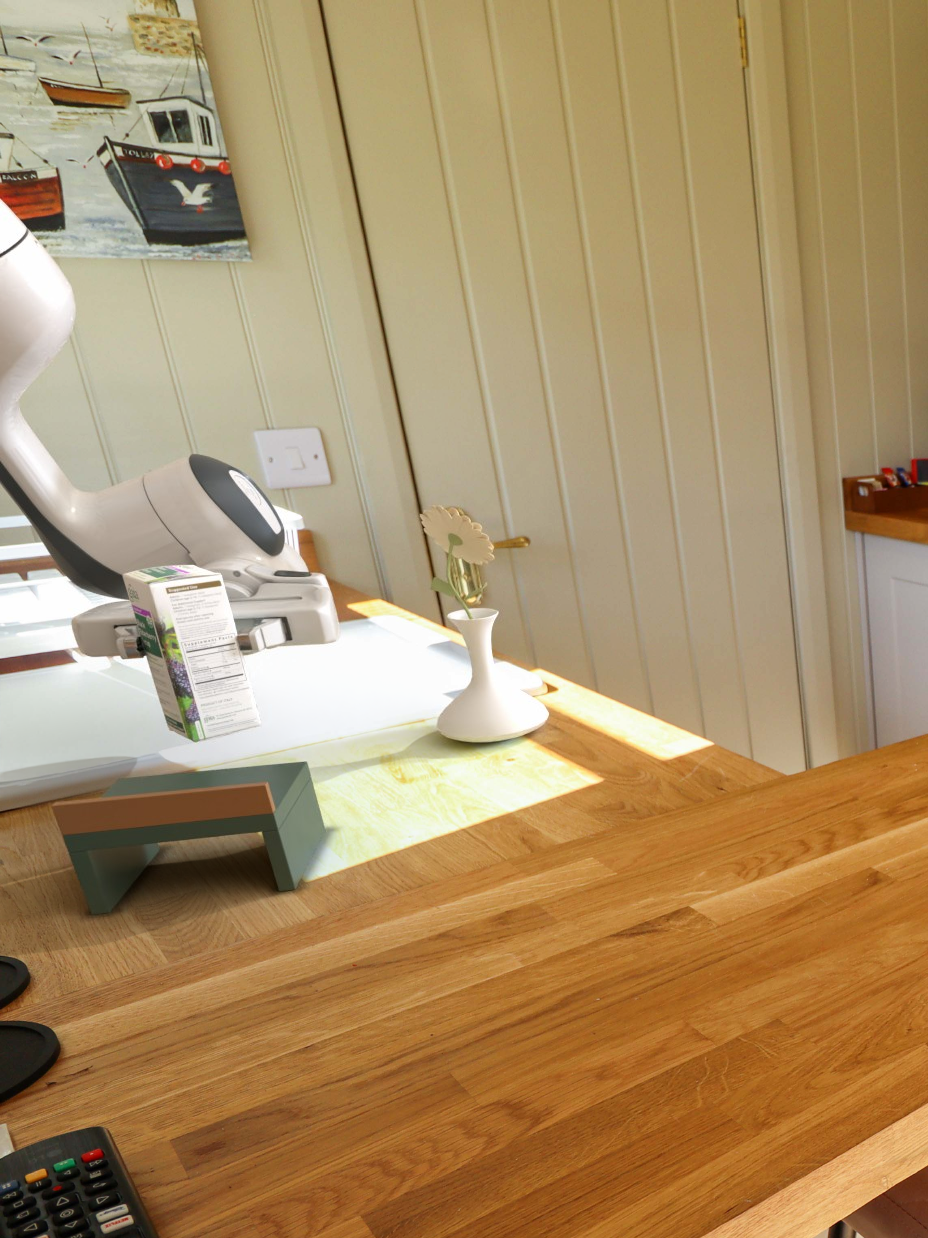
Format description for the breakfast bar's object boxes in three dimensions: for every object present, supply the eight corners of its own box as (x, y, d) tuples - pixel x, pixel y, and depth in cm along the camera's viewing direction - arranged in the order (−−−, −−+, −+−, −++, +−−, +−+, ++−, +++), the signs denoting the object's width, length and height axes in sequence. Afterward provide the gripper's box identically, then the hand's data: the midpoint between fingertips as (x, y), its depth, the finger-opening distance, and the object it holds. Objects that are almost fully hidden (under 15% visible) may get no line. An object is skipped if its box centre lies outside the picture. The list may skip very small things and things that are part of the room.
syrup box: (165, 730, 105) (115, 572, 99) (237, 713, 110) (193, 561, 104) (194, 744, 102) (143, 582, 96) (266, 726, 107) (222, 570, 101)
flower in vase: (570, 732, 131) (532, 508, 121) (468, 759, 123) (419, 522, 113) (513, 706, 138) (474, 493, 128) (414, 730, 130) (363, 505, 120)
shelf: (91, 915, 92) (50, 805, 88) (143, 851, 102) (109, 751, 98) (295, 890, 96) (265, 785, 92) (326, 831, 106) (300, 734, 102)
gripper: (94, 581, 109) (32, 618, 97) (342, 572, 116) (312, 605, 104) (115, 646, 112) (56, 690, 100) (356, 633, 118) (328, 672, 107)
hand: (189, 646), depth 102 cm, fingers closed on syrup box, 7 cm apart
